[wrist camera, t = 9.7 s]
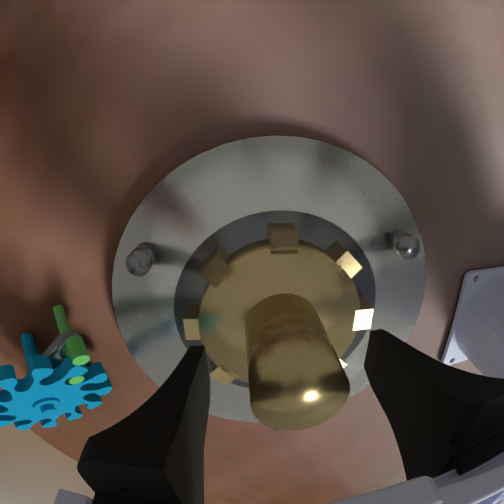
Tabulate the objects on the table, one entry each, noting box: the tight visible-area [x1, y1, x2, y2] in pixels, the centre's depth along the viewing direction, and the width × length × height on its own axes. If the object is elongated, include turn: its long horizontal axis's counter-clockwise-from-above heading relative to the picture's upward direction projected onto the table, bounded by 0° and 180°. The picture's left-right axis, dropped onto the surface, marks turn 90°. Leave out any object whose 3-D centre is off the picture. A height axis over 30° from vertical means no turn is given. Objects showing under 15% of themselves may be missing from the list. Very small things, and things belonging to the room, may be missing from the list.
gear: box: [0, 305, 112, 430], centre depth 16 cm, size 11×6×10 cm
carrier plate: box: [112, 135, 426, 430], centre depth 16 cm, size 18×18×2 cm
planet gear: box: [183, 223, 374, 430], centre depth 13 cm, size 9×9×6 cm
